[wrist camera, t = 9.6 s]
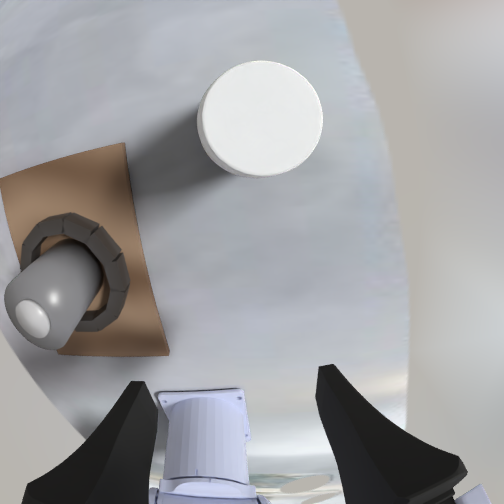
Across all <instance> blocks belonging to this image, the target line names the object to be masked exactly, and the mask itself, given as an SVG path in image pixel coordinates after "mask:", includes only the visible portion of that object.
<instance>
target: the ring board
mask: <svg viewBox="0 0 504 504" xmlns="http://www.w3.org/2000/svg"><path fill="white" fill-rule="evenodd" d="M0 189H1V194H2V199H3V204H4V209H5V213H6V217H7V221H8V225H9V229H10V233H11V237H12V240H13V244H14V247H15V250H16V253H17V257H18V260H19V263H20V269H21V270H22V271H23V270H25V269H26V268H27V267H28V266H29V265H30V264H31V263H33V262H34V261H35V260H36V259H37V258H38V257H40V256H41V255H42V254H43V253H44V252H46V251H47V250H48V249H49V248H51V247H52V246H53V245H54V244H56V243H57V242H58V241H60V240H63V239H75V240H78V241H80V242H83V243H84V244H86V245H87V246H88V247H89V249H90V250H91V251H92V252H93V253H94V255H95V256H96V257H97V258H98V259H99V261H100V263H101V265H102V269H103V275H104V276H103V284H102V287H101V289H100V291H99V292H98V294H97V295H96V297H95V298H94V300H93V301H92V303H91V304H90V306H89V307H88V309H87V310H86V312H85V313H84V315H83V317H82V318H81V320H80V321H79V323H78V324H77V326H76V328H75V329H74V331H73V332H72V334H71V336H70V337H69V339H68V341H67V342H66V344H65V345H64V346H63V347H62V348H60V349H57V352H58V354H60V355H78V356H112V357H141V356H169V352H170V350H169V347H168V344H167V341H166V337H165V334H164V331H163V327H162V324H161V320H160V317H159V313H158V310H157V306H156V302H155V299H154V295H153V291H152V287H151V283H150V279H149V275H148V271H147V267H146V262H145V258H144V254H143V249H142V244H141V240H140V235H139V230H138V225H137V220H136V214H135V209H134V203H133V197H132V191H131V185H130V179H129V172H128V165H127V157H126V149H125V143H119V144H114V145H110V146H105V147H101V148H97V149H93V150H89V151H85V152H81V153H77V154H74V155H70V156H66V157H63V158H59V159H56V160H53V161H49V162H46V163H43V164H40V165H37V166H34V167H31V168H28V169H25V170H22V171H19V172H16V173H14V174H11V175H8V176H6V177H3V178H0ZM22 271H21V272H22Z"/></svg>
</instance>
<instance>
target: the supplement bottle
mask: <svg viewBox="0 0 504 504" xmlns="http://www.w3.org/2000/svg"><path fill="white" fill-rule="evenodd" d="M322 125H323V114H322V108H321V104H320V101H319V98H318V96H317V94H316V92H315V90H314V88H313V87H312V86H311V84H310V83H309V82H308V81H307V80H306V79H305V78H304V77H303V76H302V75H301V74H299V73H298V72H297V71H295V70H293V69H292V68H290V67H288V66H285V65H283V64H280V63H276V62H271V61H251V62H246V63H243V64H240V65H237V66H235V67H233V68H231V69H229V70H228V71H226V72H225V73H223V74H222V75H221V76H220V77H219V78H218V79H216V80H215V81H214V82H213V83H212V84H211V85H210V87H209V88H208V89H207V91H206V92H205V94H204V96H203V97H202V99H201V102H200V105H199V108H198V113H197V129H198V134H199V137H200V141H201V143H202V146H203V148H204V150H205V151H206V153H207V154H208V156H209V157H210V158H211V159H212V160H213V161H214V162H215V163H216V164H217V165H218V166H220V167H221V168H223V169H224V170H226V171H228V172H230V173H232V174H235V175H238V176H241V177H246V178H265V177H270V176H274V175H279V174H282V173H285V172H287V171H289V170H292V169H293V168H295V167H297V166H298V165H300V164H301V163H302V162H303V161H305V160H306V159H307V157H308V156H309V155H310V154H311V153H312V151H313V150H314V148H315V147H316V145H317V143H318V141H319V138H320V135H321V131H322Z"/></svg>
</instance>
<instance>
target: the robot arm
mask: <svg viewBox="0 0 504 504" xmlns="http://www.w3.org/2000/svg"><path fill="white" fill-rule="evenodd" d="M315 398H316V402H317V406H318V411H319V415H320V418H321V421H322V424H323V427H324V429H325V432H326V435H327V437H328V440H329V443H330V445H331V448H332V451H333V453H334V456H335V459H336V462H337V465H338V470H339V474H340V478H341V482H342V487H343V492H344V497H345V502H346V504H491V502H490V500H489V498H488V496H487V494H486V492H485V490H484V488H483V486H482V484H479V485H478V486H476V487H475V488H473V489H471V490H470V491H468V492H467V493H465V494H464V495H462V496H460V497H459V498H457V499H456V500H454V499H453V495H454V494H455V492H454V490H453V487H454V486H455V485H456V484H458V483H459V482H460V481H461V480H462V479H463V478H464V477H465V476H466V475H467V473H468V471H467V470H466V468H465V466H464V464H463V462H462V461H461V459H460V458H459V456H456V455H453V454H451V453H448V452H445V451H443V450H440V449H438V448H435V447H433V446H431V445H429V444H427V443H425V442H423V441H421V440H419V439H418V438H416V437H414V436H412V435H411V434H409V433H407V432H406V431H404V430H403V429H401V428H400V427H398V426H397V425H395V424H394V423H393V422H391V421H390V420H389V419H387V418H386V417H385V416H384V415H382V414H381V413H380V412H379V411H378V410H377V409H375V408H374V407H373V406H372V405H371V404H370V403H369V402H368V401H367V400H366V399H365V398H364V397H363V396H362V395H361V394H360V393H359V392H358V391H357V390H356V389H355V388H354V387H353V386H352V385H351V384H350V382H349V381H348V380H347V379H346V378H345V377H344V376H343V374H342V373H341V372H340V371H339V370H338V368H337V367H336V366H335V365H334V364H330V365H325V366H319V369H318V378H317V387H316V395H315ZM158 399H159V401H160V403H161V406H162V408H163V410H164V412H165V414H166V416H167V418H168V420H169V428H168V437H167V445H166V454H165V464H164V474H163V479H160V484H159V489H158V488H154V487H152V488H150V489H149V476H150V468H151V462H152V456H153V451H154V445H155V439H156V433H157V422H158V409H157V407H156V405H155V403H154V401H153V399H152V397H151V395H150V393H149V390H148V388H147V386H146V384H145V382H144V381H131V382H130V383H129V385H128V386H127V387H126V389H125V390H124V392H123V393H122V395H121V396H120V398H119V399H118V400H117V402H116V403H115V405H114V406H113V408H112V409H111V410H110V412H109V413H108V414H107V416H106V417H105V418H104V420H103V421H102V422H101V423H100V425H99V426H98V427H97V428H96V430H95V431H94V432H93V433H92V434H91V436H90V437H89V438H88V439H87V440H86V441H85V442H84V443H83V444H82V445H81V446H80V447H79V448H78V449H77V450H76V451H75V452H74V453H73V454H72V455H70V456H69V457H68V458H67V459H66V460H64V461H63V462H62V463H61V464H59V465H58V466H56V467H55V468H54V469H52V470H51V471H49V472H48V473H46V474H45V475H43V476H41V477H39V478H37V479H35V480H34V481H32V482H30V483H28V484H27V486H26V490H25V493H24V497H23V501H22V504H271V502H270V501H268V500H267V499H266V498H265V497H264V496H263V495H256V489H255V486H254V485H249V476H248V465H247V454H246V443H245V442H247V441H250V440H251V435H250V428H249V422H248V416H247V410H246V403H245V397H244V391H243V390H242V389H230V390H216V391H198V392H161V393H159V394H158Z"/></svg>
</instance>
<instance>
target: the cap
mask: <svg viewBox="0 0 504 504" xmlns="http://www.w3.org/2000/svg"><path fill="white" fill-rule="evenodd" d="M103 276H104V275H103V269H102V265H101V263H100V261H99V259H98V258H97V257H96V256H95V255H94V253H93V252H92V251H91V250H90V249H89V247H88V246H87V245H86V244H84V243H83V242H80V241H78V240H75V239H63V240H60V241H58V242H57V243H56V244H54V245H53V246H52V247H51V248H49V249H48V250H47V251H46V252H44V253H43V254H42V255H41V256H40V257H38V258H37V259H36V260H35V261H34V262H33V263H31V264H30V265H29V266H28V267H27V268H26V269H25V270H23V271H22V272H21V273H20V274H19V275H18V276H17V277H16V278H14V279H13V280H12V281H11V282H10V283H9V284H8V286H7V287H6V290H5V295H4V300H5V307H6V310H7V313H8V315H9V318H10V320H11V321H12V323H13V325H14V326H15V327H16V329H17V330H18V331H19V332H20V333H21V334H22V335H23V336H24V337H25V338H26V339H27V340H28V341H30V342H31V343H33V344H34V345H36V346H38V347H41V348H43V349H47V350H57V349H60V348H62V347H63V346H64V345H65V344H66V342H67V341H68V339H69V337H70V336H71V334H72V332H73V331H74V329H75V328H76V326H77V324H78V323H79V321H80V320H81V318H82V317H83V315H84V313H85V312H86V310H87V309H88V307H89V306H90V304H91V303H92V301H93V300H94V298H95V297H96V295H97V294H98V292H99V291H100V289H101V287H102V284H103Z"/></svg>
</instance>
